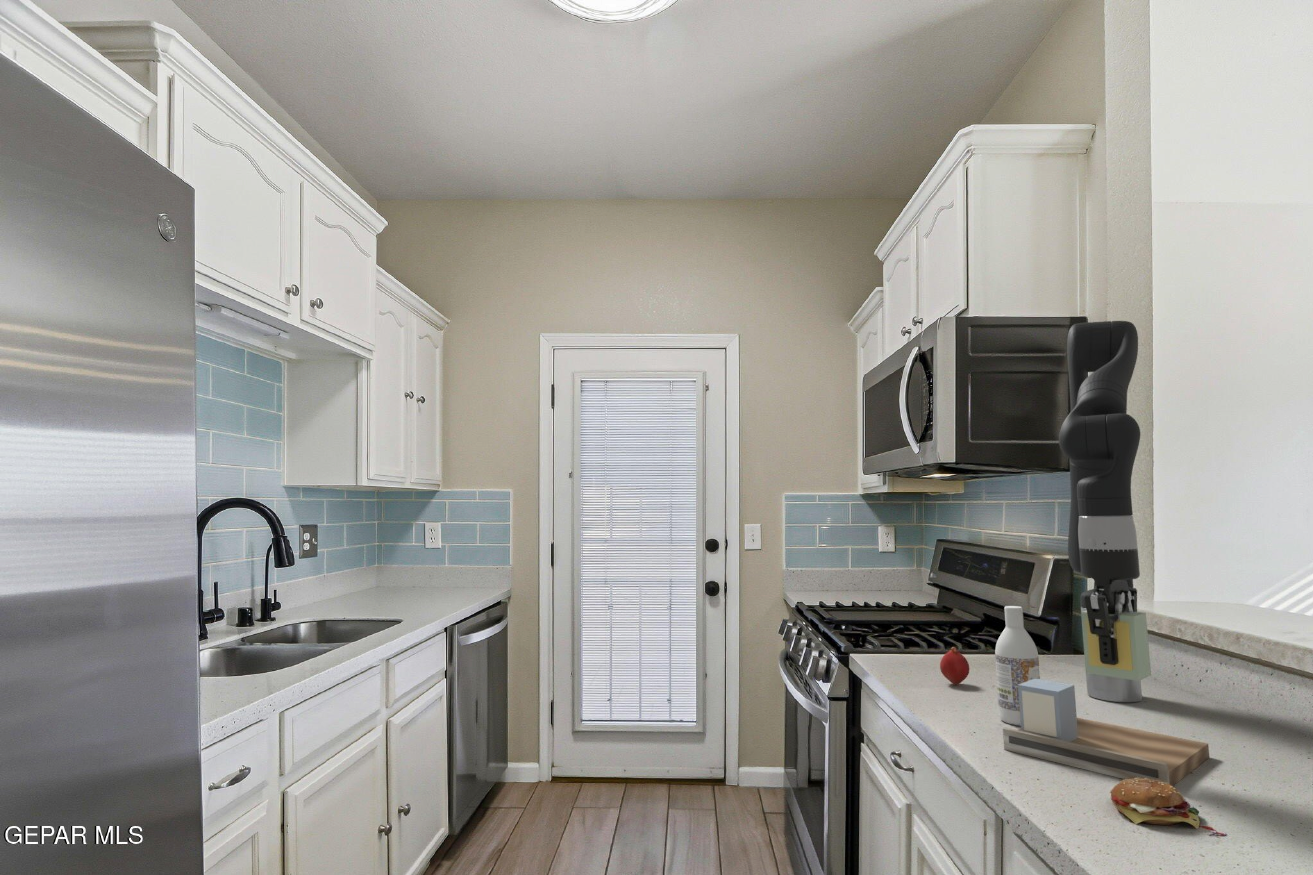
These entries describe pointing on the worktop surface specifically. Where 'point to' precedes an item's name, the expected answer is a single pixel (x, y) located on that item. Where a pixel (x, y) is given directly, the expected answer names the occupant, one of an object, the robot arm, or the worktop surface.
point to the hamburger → (1154, 803)
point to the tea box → (1120, 648)
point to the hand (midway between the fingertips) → (1116, 660)
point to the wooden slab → (1115, 751)
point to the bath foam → (1014, 664)
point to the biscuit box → (1048, 709)
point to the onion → (954, 666)
